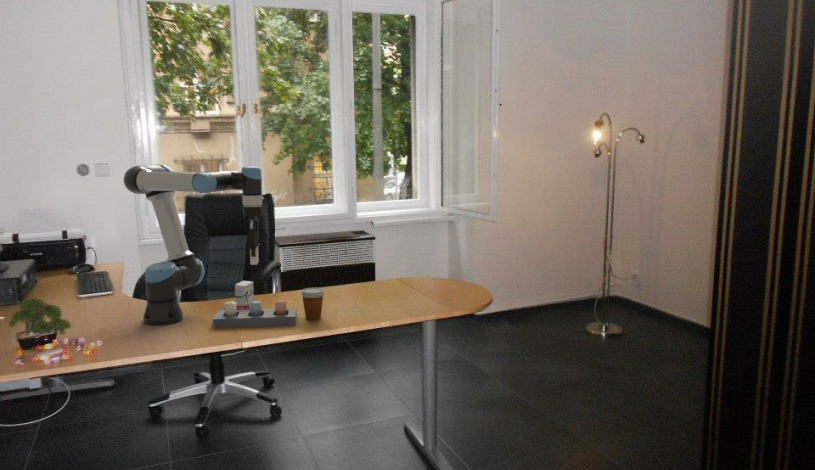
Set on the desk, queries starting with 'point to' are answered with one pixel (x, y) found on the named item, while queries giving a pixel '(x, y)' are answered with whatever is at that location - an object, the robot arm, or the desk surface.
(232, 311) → the cream button
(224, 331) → the desk surface
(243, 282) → the ink box
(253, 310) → the slate button
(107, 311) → the desk surface
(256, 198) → the robot arm
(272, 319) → the button panel
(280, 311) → the pink rounded piece
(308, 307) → the disposable coffee cup
